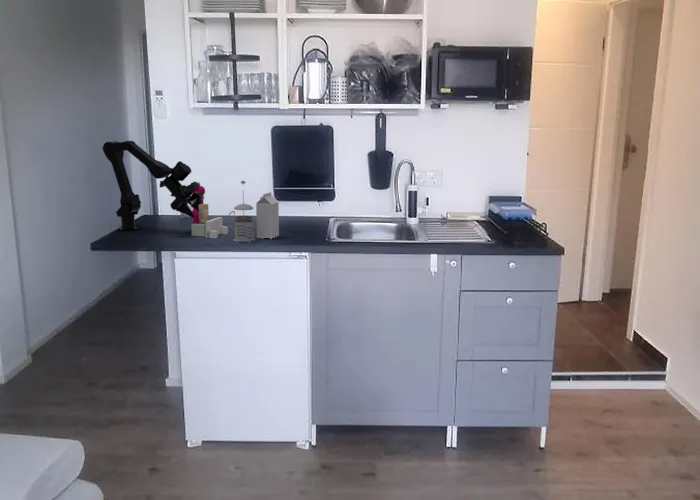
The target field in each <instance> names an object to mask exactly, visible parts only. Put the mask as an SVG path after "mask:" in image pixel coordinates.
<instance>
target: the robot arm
mask: <svg viewBox="0 0 700 500" xmlns="http://www.w3.org/2000/svg"><path fill="white" fill-rule="evenodd" d="M125 151H126V152H128V153H129V154H131V155H132V156H133V157H134V158H136V159H137V160H138V161H139V162H140V163H142V164H143V165H144V166H145V167H147V169H148V172H149V173H150V175H151V176H153V178H155V179H156V180H157V179H159V180H160V179H162V180H160V181H159V188H166V189H167V190H168V191H169V192H170V193H171V194H170V196H171V197H174V200H173V201H172V202H171V203H170V208H171V210H172V211H176V212H179V213H182V214H184V215H186V216H188V217H190V218H192V219H193V218H194V217H195V215H194V213H193V212H192V211H193V210H191V208H194V209H196V210H197V211H199V204H202V203H201V199H202V196H204V195H202V194H201V193H200V192H196V193H192V192H194V191H196V190H199V186H201V184H200V185H199V184H198V183H197V181H192V182H191V183H190V184H188V185H185V184H182V183H181V182H184V181H185V179H186V178H187V177H188V176H189V175H190V174H192V171H193V170H192V168H191V167H190V166H189V165H187V164H186V163H184V162H183V161H178V162H177V163H176V164H175V165H174V166H173V167H170V166H169V165H168V164H166V163H164V162H162V161H160V160H157V159H155V158H154V157H152V156H151V155H150V154H149V153H147V151H145V150H144V149H143V148H142V147H140V146H139V145H138V144H136V142H135V140H125V141H121V142H120V141H117V140H113V141H106V142H105V143H104V144H103V145H102V152H103V154H104V156H105V158H106V159H107V160H108V161H109V162H110V163H111V166H112V170H113V173H114V175H115V179H116V182H117V184H118V189H119V191H120V200H119V204H120V207H119V208H118V209H117V211H115V213H116V216H117V217H119V218H120V222H121V226H120V227H119V229H120V230H121V231H133V230H136V231H137V230H138V228H137V227H136V220H135V215H138V214H139V210H140V208H141V207H142V206H141V205H142V201H141V198H140V195H139V194H135V193H134V191H133V189H132V185H131V183H130V179H129V177H128V173H127V170H126V165H125V164H124V155H125ZM189 205H190V207H191V208H190V207H189Z"/></svg>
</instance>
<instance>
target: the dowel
mask: <svg viewBox="0 0 700 500" xmlns="http://www.w3.org/2000/svg"><path fill="white" fill-rule="evenodd" d="M209 220H210V218H209V204H208V203H204V204H199V224H205V225H206V221H209Z"/></svg>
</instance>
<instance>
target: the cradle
mask: <svg viewBox="0 0 700 500" xmlns="http://www.w3.org/2000/svg"><path fill="white" fill-rule="evenodd" d="M190 226H191V236H192V237H205V238H206V225H205V224H193V223H191V225H190Z"/></svg>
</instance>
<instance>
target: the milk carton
mask: <svg viewBox="0 0 700 500" xmlns="http://www.w3.org/2000/svg"><path fill="white" fill-rule="evenodd" d="M255 207H256V210H255V213H256V217H255V218H256V238H257V239H264V238H270V239H269V240H273V239H272V238H274V239H276V238H278V237H280V220H279V215H280V214H279V210H280V206H279V201H278V200H277V199H276V198H275V197H274V196H273V195H272V191H271V192H268V193H263V195H262V196H260V197H259V200H258V201H257V202H256V205H255ZM277 236H278V237H277ZM275 237H276V238H275Z"/></svg>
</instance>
